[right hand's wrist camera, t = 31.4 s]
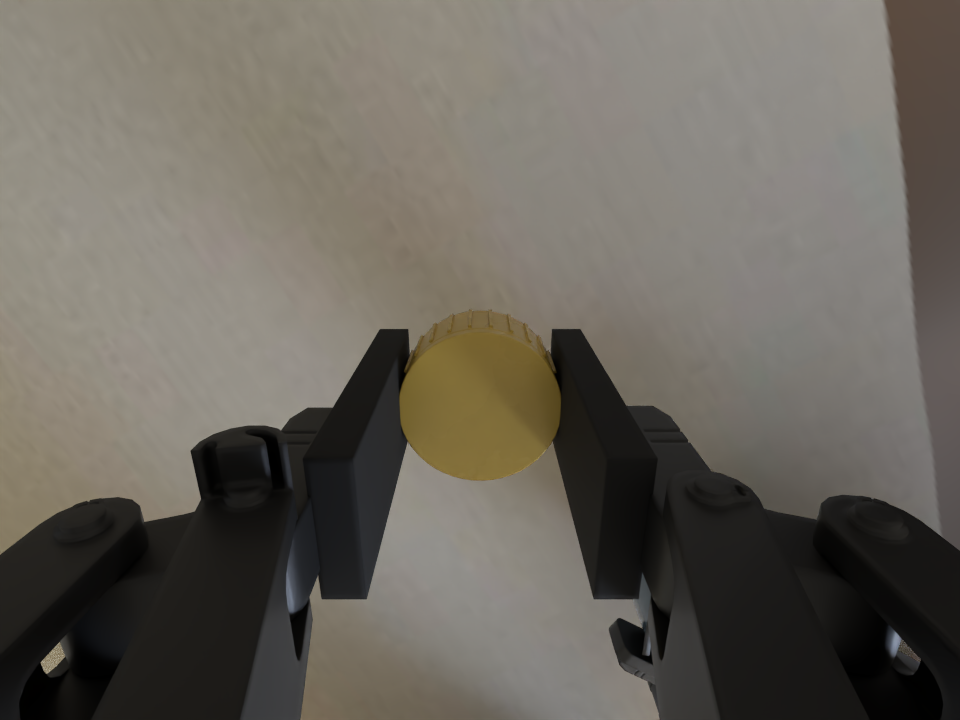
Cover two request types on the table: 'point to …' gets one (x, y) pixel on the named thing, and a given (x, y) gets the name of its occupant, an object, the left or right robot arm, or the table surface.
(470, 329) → the cap
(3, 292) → the table surface
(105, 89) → the table surface
